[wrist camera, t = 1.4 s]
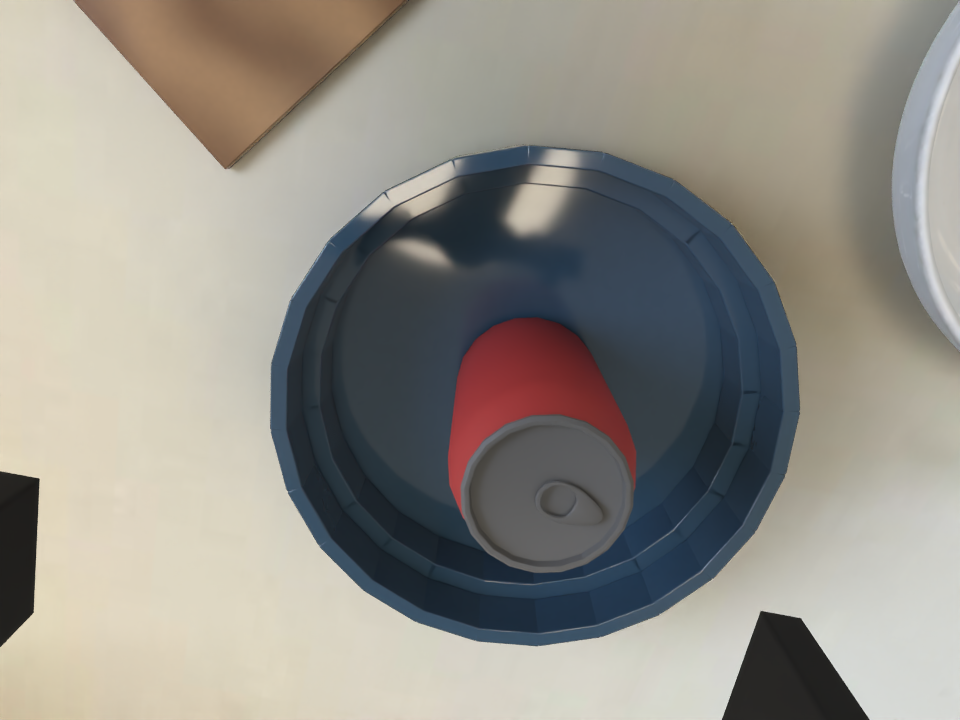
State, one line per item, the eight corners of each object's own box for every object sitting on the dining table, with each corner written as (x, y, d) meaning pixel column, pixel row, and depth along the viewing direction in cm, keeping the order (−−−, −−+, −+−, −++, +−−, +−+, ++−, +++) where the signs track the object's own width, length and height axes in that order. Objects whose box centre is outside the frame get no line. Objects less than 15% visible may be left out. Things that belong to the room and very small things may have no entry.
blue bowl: (565, 38, 31) (582, 17, 26) (838, 407, 36) (900, 453, 30) (208, 351, 35) (159, 388, 30) (495, 647, 40) (497, 725, 34)
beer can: (557, 466, 36) (592, 617, 25) (435, 413, 36) (411, 543, 24) (621, 349, 35) (689, 452, 23) (493, 290, 34) (497, 366, 22)
